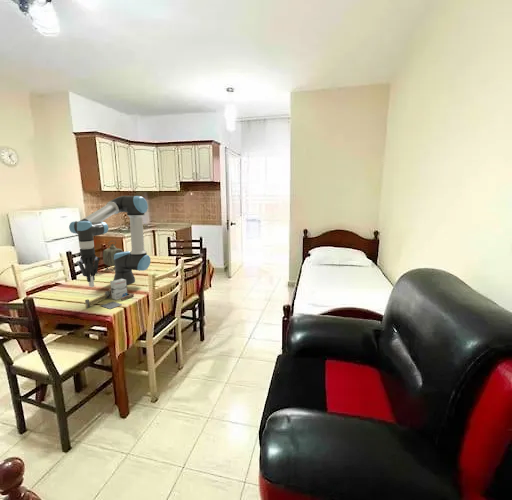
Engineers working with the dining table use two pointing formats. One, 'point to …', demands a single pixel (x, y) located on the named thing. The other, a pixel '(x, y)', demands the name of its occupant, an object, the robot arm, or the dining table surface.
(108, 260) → the tabletop clock
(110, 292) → the walnut cradle
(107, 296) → the brass lever
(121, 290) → the ink box
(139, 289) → the dining table surface
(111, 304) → the charcoal mat
